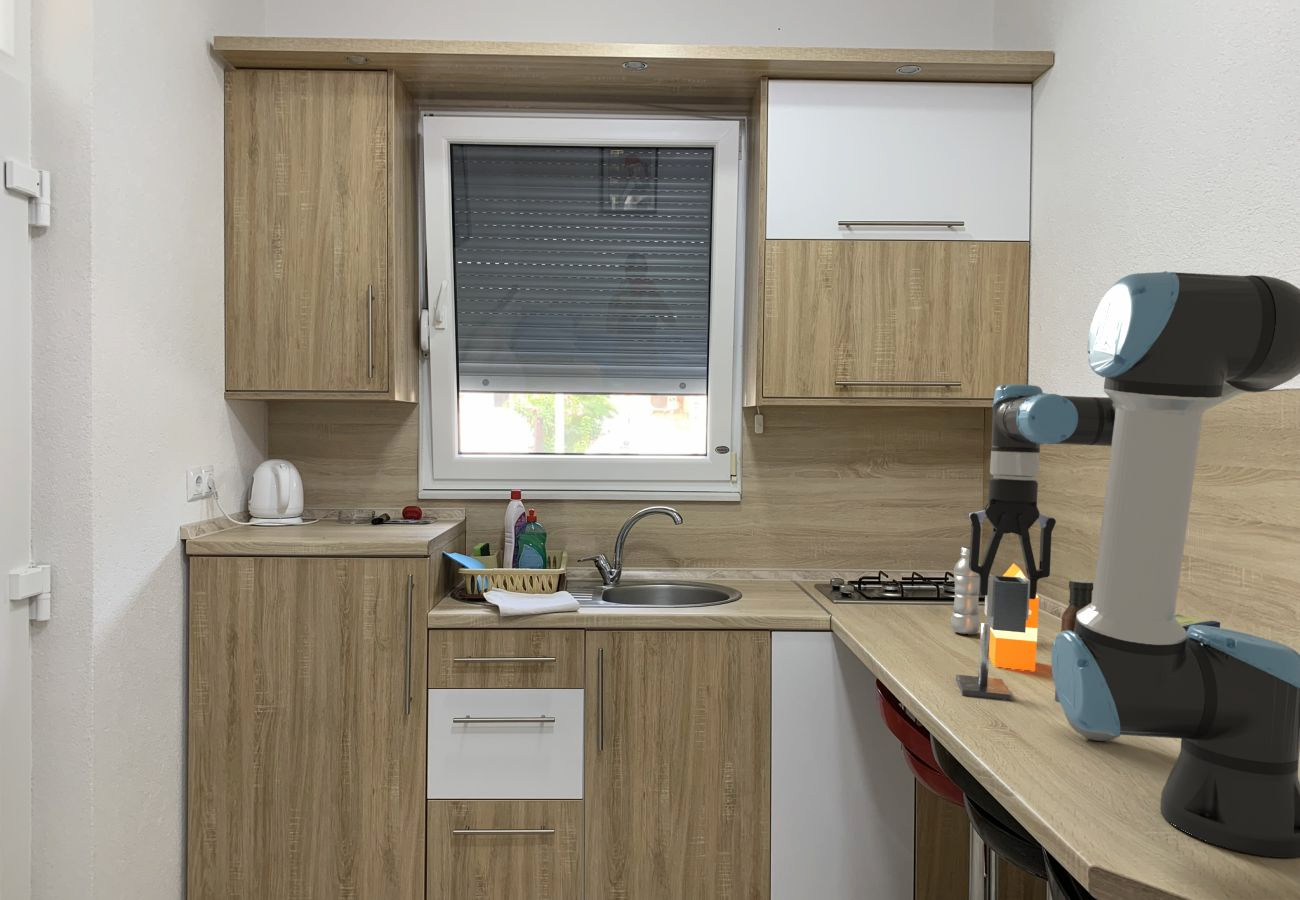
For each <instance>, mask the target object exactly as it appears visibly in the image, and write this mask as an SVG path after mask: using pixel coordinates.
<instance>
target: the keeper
mask: <svg viewBox="0 0 1300 900" xmlns="http://www.w3.org/2000/svg"><path fill="white" fill-rule="evenodd" d="M990 628H991V627H990V625H989V624H988V622H980V637H979V638H980V639H979V654H978V655H979V656H978V657H979V658H978V673H977V674H978V675H977V676H974V675H966V674H965V675H964V674H955V682H956V683H957V686H958V688H959V691H960V690H961V691H960V694H961V695H962V696H965V695H969V696H968V697H974V696H979V697H978V698H984V697H987V698H986V699H993V698H997V699H996V700H1003V699H1005V700H1004V701H1011V700H1012V694H1011V692H1010V690H1009V689H1008V687H1007V686H1006V683H1005V682H1004V680H1003V679H1002V678H994V677H989V662H990V659H989V647H990Z"/></svg>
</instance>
